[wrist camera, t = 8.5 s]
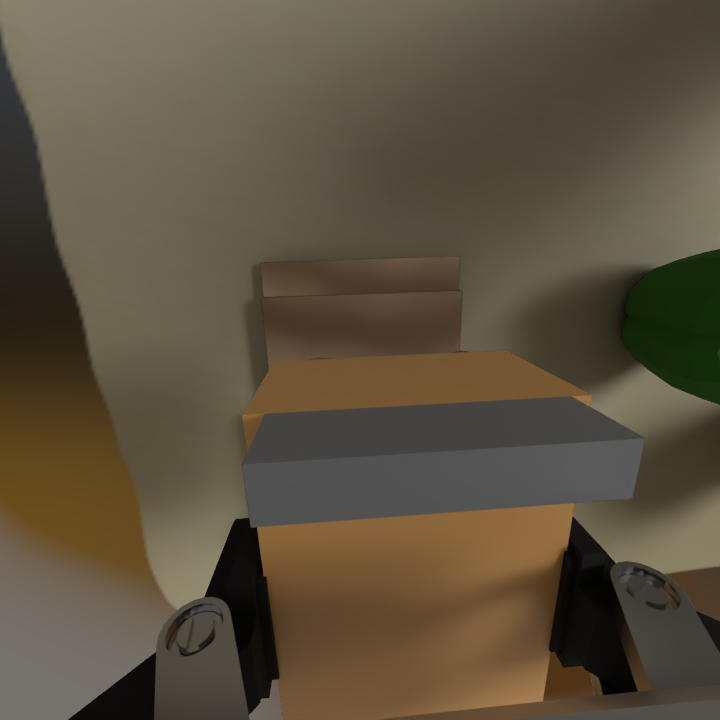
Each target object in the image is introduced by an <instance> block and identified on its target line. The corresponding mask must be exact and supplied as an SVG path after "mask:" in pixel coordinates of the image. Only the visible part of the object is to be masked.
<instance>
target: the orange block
mask: <svg viewBox="0 0 720 720" xmlns="http://www.w3.org/2000/svg"><path fill="white" fill-rule="evenodd" d="M591 399H592V395H591V394H589V393H587V392H585V391H583V390H581V389H579V388H578V387H576V386H574V385H572V384H570V383H568V382H566V381H564V380H562V379H560V378H558V377H556V376H554V375H552V374H551V373H549V372H547V371H545V370H543V369H541V368H539V367H537V366H535V365H533V364H531V363H529V362H527V361H525V360H524V359H522V358H520V357H518V356H516V355H514V354H512V353H510V352H508V351H506V350H503V351H482V352H468V351H456V352H451V353H441V354H420V355H399V356H379V357H358V358H337V359H330V358H314V359H310V360H296V361H275V362H274V363H273V364H272V366H271V368H270V369H269V371H268V373H267V374H266V376H265V378H264V379H263V381H262V383H261V384H260V386H259V388H258V389H257V391H256V393H255V394H254V396H253V398H252V399H251V401H250V403H249V404H248V406H247V408H246V409H245V411H244V413H243V414H242V419H243V426H244V434H245V441H246V449H247V454H246V457H245V459H244V461H243V463H242V469H243V476H244V483H245V491H246V498H247V505H248V512H249V519H250V526H251V528H252V527H257V531H258V538H259V545H260V553H261V560H262V568H263V575H264V576H266V577H267V584H268V592H269V599H270V607H271V615H272V622H273V630H274V637H275V645H276V653H277V660H278V668H279V675H280V678H279V679H278V687H279V694H280V702H281V709H282V716H283V720H377V719H385V718H394V717H403V716H411V715H420V714H430V713H439V712H448V711H457V710H466V709H475V708H485V707H494V706H503V705H513V704H522V703H532V702H541V701H543V695H544V689H545V683H546V677H547V671H548V664H549V658H550V652H551V651H549V644H550V638H551V631H552V625H553V619H554V613H555V606H556V600H557V594H558V588H559V581H560V575H561V569H562V563H563V556H564V551H567V547H568V541H569V535H570V529H571V523H572V516H573V510H574V504H575V503H583V502H596V501H609V500H622V499H632V498H633V494H634V489H635V484H636V480H637V475H638V470H639V466H640V461H641V456H642V452H643V447H644V442H645V438H644V437H642V436H640V435H639V434H637V433H635V432H633V431H632V430H630V429H628V428H626V427H625V426H623V425H621V424H619V423H618V422H616V421H614V420H612V419H611V418H609V417H607V416H605V415H603V414H602V413H600V412H598V411H596V410H595V409H593V408H591V407H590V405H591Z"/></svg>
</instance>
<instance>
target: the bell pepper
mask: <svg viewBox="0 0 720 720" xmlns="http://www.w3.org/2000/svg"><path fill="white" fill-rule="evenodd" d="M625 310H626V312H627V314H628V317H627V318H626V319H625V321H624V322H623V324H622V340H623V342H624V344H625V346H626V347H627V349H628V350H629V351H630V352H631V354H632V355H633V356H634V357H635V359H636V360H637V361H639V362H640V363H641V364H642V365H643V366H645V367H646V368H647V369H648V370H649V371H651V372H652V373H653V374H655V375H656V376H658V377H659V378H661V379H662V380H663V381H665V382H666V383H668V384H669V385H671V386H672V387H675V388H677V389H680V390H682V391H684V392H687V393H689V394H692V395H694V396H697V397H699V398H702V399H704V400H707V401H710V402H713V403H716V404H719V405H720V249H718V250H713V251H709V252H705V253H701V254H697V255H694V256H690V257H687V258H683V259H679V260H676V261H674V262H671V263H669V264H666V265H663V266H661V267H658V268H655V269H653V270H652V271H650V272H649V273H648V274H647V275H646V276H644V277H643V278H642V279H641V280H640V281H639V282H638V283H637V284H636V285H635V286H634V287H633V288H632V289H631V290H630V291H629V293H628V297H627V301H626V305H625Z"/></svg>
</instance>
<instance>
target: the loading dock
mask: <svg viewBox="0 0 720 720" xmlns="http://www.w3.org/2000/svg"><path fill="white" fill-rule="evenodd" d="M260 267H261V277H262V286H263V296H264V297H263V298H261V302H262V312H263V321H264V330H265V339H266V349H267V358H268V367H269V369H270V368H271V366H272V364H273V363H274V362H275V361H296V360H310V359H314V358H330V359H337V358H358V357H379V356H399V355H420V354H441V353H451V352H456V351H460V334H461V314H462V295H463V291H461V290H459V269H460V256H454V257H423V258H392V259H360V260H329V261H298V262H266V263H260Z"/></svg>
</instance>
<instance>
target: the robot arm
mask: <svg viewBox="0 0 720 720" xmlns="http://www.w3.org/2000/svg"><path fill="white" fill-rule="evenodd" d="M549 651H551V652H555V653H556V655H557V657H558V659H559V660H560V662H561V664H562V666H563V667H574V666H583V667H584V669H585V670H587V671H589V672H590V675H591V680H592V684H593V689H594V693H595V696H590V697H580V698H570V699H561V700H551V701H541V702H532V703H522V704H513V705H503V706H494V707H485V708H475V709H466V710H457V711H448V712H439V713H430V714H420V715H411V716H403V717H394V718H385V719H377V720H720V622H719V621H717V620H715V619H713V618H711V617H708V616H706V615H704V614H702V613H699V612H697V611H695V609H694V607H693V605H692V604H691V602H690V600H689V599H688V597H687V595H686V594H685V593H684V591H683V590H682V589H681V587H679V586H678V585H677V584H676V583H675V582H674V581H673V580H672V579H670V578H669V577H667V576H666V575H664V574H663V573H661V572H659V571H657V570H655V569H653V568H651V567H649V566H646V565H643V564H640V563H636V562H628V561H625V562H618V563H615V562H614V561H613V560H612V559H611V557H610V556H609V555H608V554H607V553H606V552H605V551H604V549H603V548H602V547H601V546H600V545H599V544H598V543H597V542H596V541H595V540H594V539H593V538H592V537H591V535H590V534H589V533H588V532H587V531H586V530H585V529H584V528H583V527H582V526H581V525H580V524H579V523H578V522H577V520H576V519H575V518H574V517H573V516H572V523H571V529H570V535H569V541H568V547H567V551H564V556H563V563H562V569H561V575H560V581H559V588H558V594H557V600H556V606H555V613H554V619H553V625H552V631H551V638H550V644H549ZM279 678H280V675H279V668H278V660H277V653H276V645H275V637H274V630H273V622H272V615H271V607H270V599H269V592H268V584H267V577H266V576H264V575H263V568H262V560H261V553H260V545H259V538H258V531H257V527H252V528H251V526H250V519H249V518H243V519H236V520H235V521H234V523H233V525H232V527H231V530H230V533H229V535H228V538H227V540H226V543H225V545H224V548H223V551H222V553H221V556H220V558H219V561H218V563H217V566H216V569H215V571H214V574H213V576H212V579H211V581H210V584H209V587H208V589H207V592H206V594H205V597H203V598H200V599H197V600H193V601H191V602H189V603H188V604H186V605H184V606H182V607H181V608H180V609H178V610H177V611H176V612H175V613H174V614H173V615H172V616H171V617H170V618H169V619H168V620H167V622H166V623H165V624H164V626H163V628H162V630H161V631H160V633H159V636H158V641H157V646H156V652H155V653H154V654H153V655H151V656H150V657H149V658H148V659H146V660H145V661H144V662H142V663H141V664H140V665H138V666H137V667H136V668H135V669H133V670H132V671H131V672H129V673H128V674H127V675H126V676H124V677H123V678H122V679H120V680H119V681H118V682H116V683H115V684H114V685H112V686H111V687H110V688H109V689H107V690H106V691H105V692H103V693H102V694H101V695H99V696H98V697H97V698H96V699H94V700H93V701H92V702H91V703H89V704H88V705H86V706H85V707H84V708H83V709H81V710H80V711H79V712H77V713H76V714H75V715H73V716H72V717H71V718H70V719H68V720H250V719H249V714H250V713H251V712H252V711H253V710H254V709H255V708H256V707H257V706H258V705H259V703H260V700H261V699H262V698H269V695H270V689H271V682H272V680H274V679H275V680H276V679H279Z"/></svg>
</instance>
